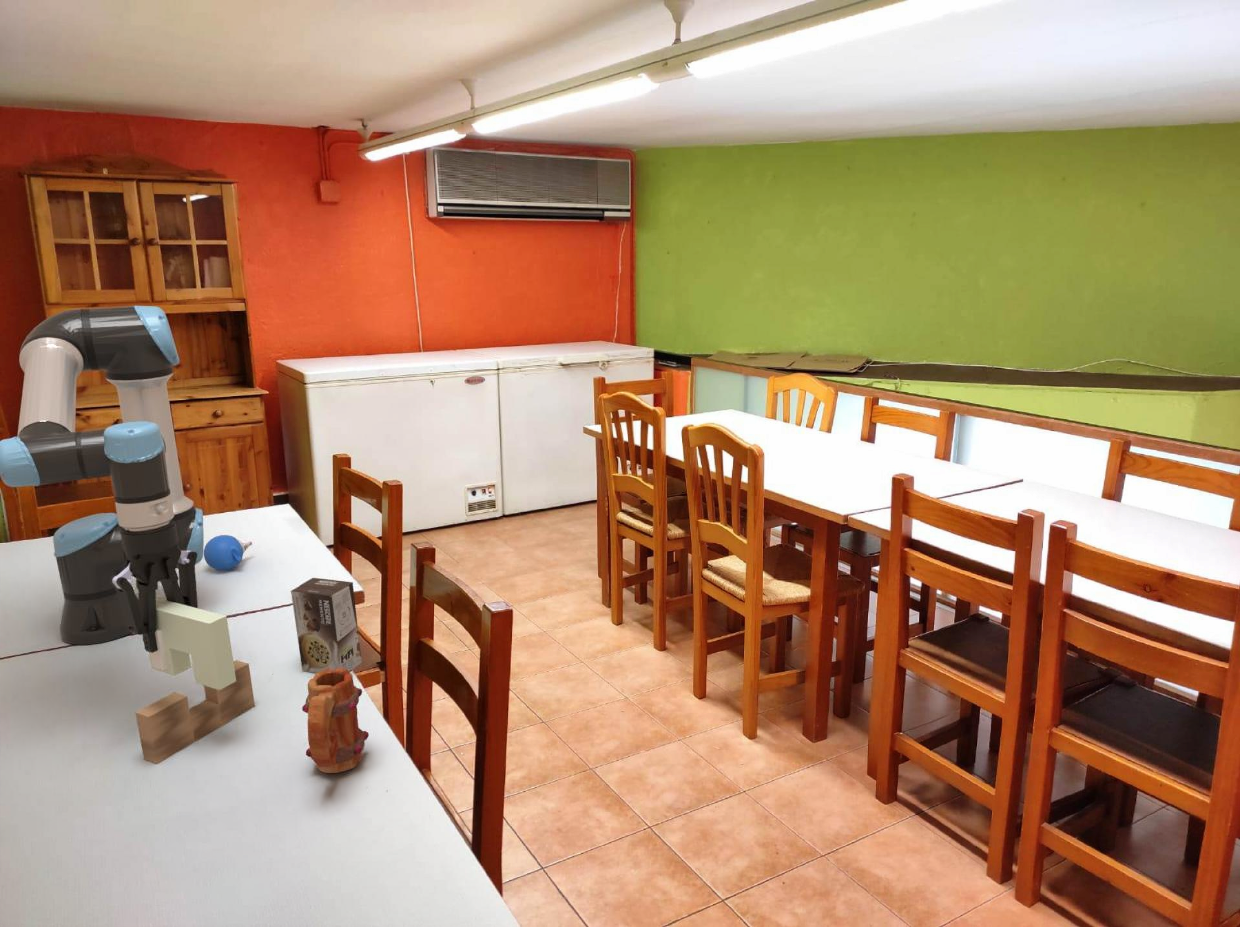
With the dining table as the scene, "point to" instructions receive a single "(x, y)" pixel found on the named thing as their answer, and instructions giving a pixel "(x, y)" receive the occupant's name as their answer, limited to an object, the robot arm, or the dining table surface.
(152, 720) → the walnut board
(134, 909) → the dining table surface
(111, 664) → the dining table surface
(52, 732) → the dining table surface
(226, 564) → the blue rubber bulb
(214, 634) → the sage board
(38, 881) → the dining table surface
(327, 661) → the coffee box
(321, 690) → the mug
